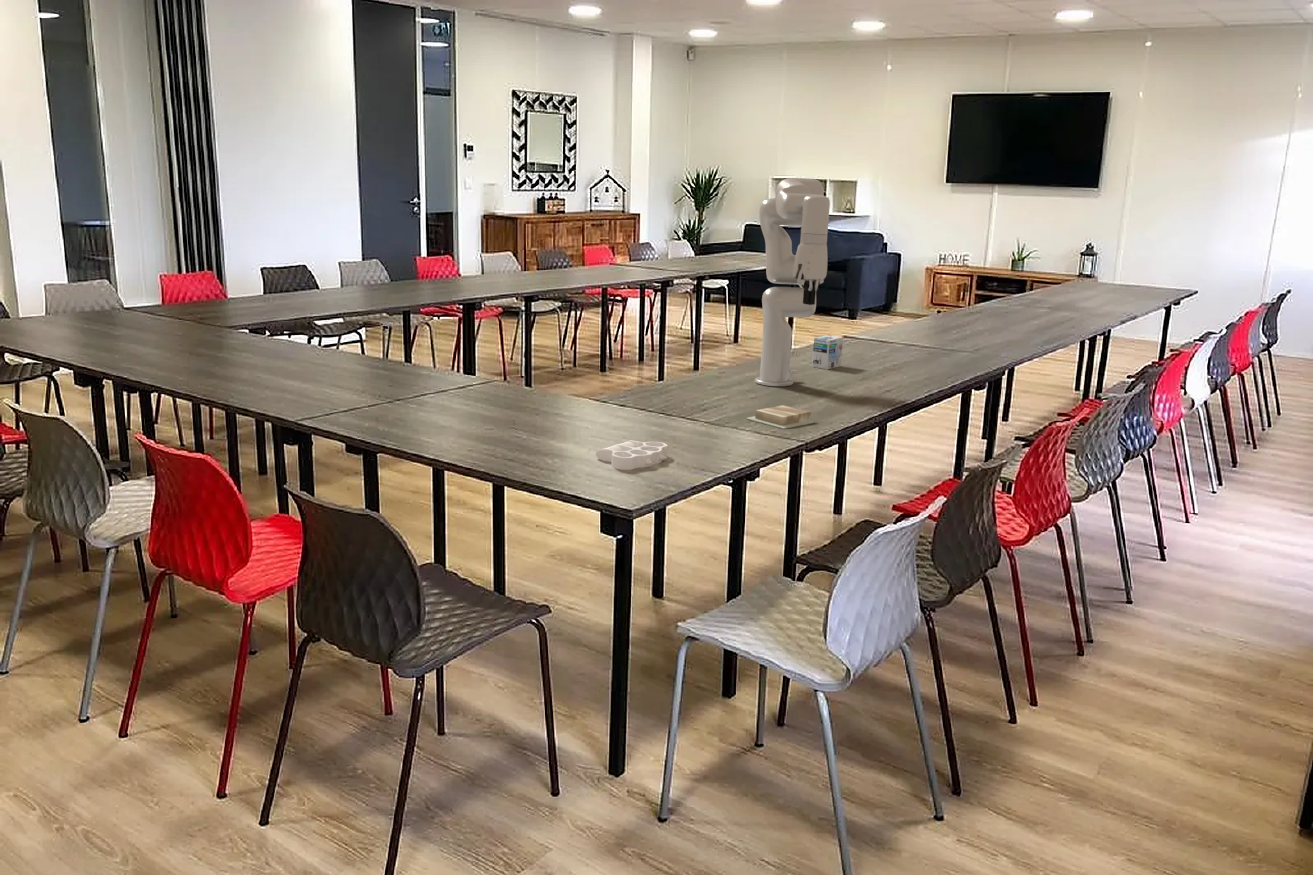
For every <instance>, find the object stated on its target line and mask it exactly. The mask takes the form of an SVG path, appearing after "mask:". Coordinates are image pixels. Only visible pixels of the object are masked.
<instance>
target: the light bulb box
mask: <svg viewBox="0 0 1313 875" xmlns="http://www.w3.org/2000/svg"><path fill="white" fill-rule="evenodd" d="M843 344H844V337H843V336H836V335H831V334H830V335H829V334H826V335H823V336H817V337H814V338H813V345H812V347H813V348H812V360H811V361H812V362H811V368H817V369H821V370H822V369H823V370H831V369H834V368H838V367H841V366H842V355H843Z"/></svg>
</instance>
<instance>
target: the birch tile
mask: <svg viewBox="0 0 1313 875" xmlns="http://www.w3.org/2000/svg"><path fill="white" fill-rule="evenodd" d="M811 414H812V411H809V410H805V409H800V408H797V407H793V406H789V405H785V404H782V405H777V406H772V407H765V408H761V409H760V408H759V409H756V410H755V419H759V420H763V421H766V422H770V423H774V424H778V425H781V426H783V425H788V424H793V423H798V422H803V421H811V417H812V416H811Z"/></svg>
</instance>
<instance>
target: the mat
mask: <svg viewBox="0 0 1313 875" xmlns="http://www.w3.org/2000/svg"><path fill="white" fill-rule="evenodd" d="M745 419H746V420H748V421H751V422H755V423H759V424H763V425H766V426H771V427H774V428H777V429H781V430H785V429H790V428H795V427H800V426H801V427H802V426H806V425H810V424H814V423H815V422H814V421H812V420H808V421H803V422H798V423H793V424H788V425H783V426H781V425H778V424H774V423H770V422H766V421H763V420H759V419H755V416H749V417H745Z"/></svg>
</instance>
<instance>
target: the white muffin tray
mask: <svg viewBox="0 0 1313 875" xmlns="http://www.w3.org/2000/svg"><path fill="white" fill-rule="evenodd" d="M668 448H669V445H668V444H667V443H664V442H661V441H646V442H645V441H637V440H627V441H625V442H621V443H618V444H614V445H611V446H609V447H605V448H600V449H598V450H597V451H596V452H595V456H596V458H597V459H598V460H599V461H604V462H609V463H611V467H612V468H613V469H616V470H621V471H623V470H624V471H629V470H630V471H631V470H634V469H638V468H639V469H640V468H649V467H651V466H653V465H657V464H660V463H662V462H663V461H664V460H667V459H668V450H669V449H668Z"/></svg>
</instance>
